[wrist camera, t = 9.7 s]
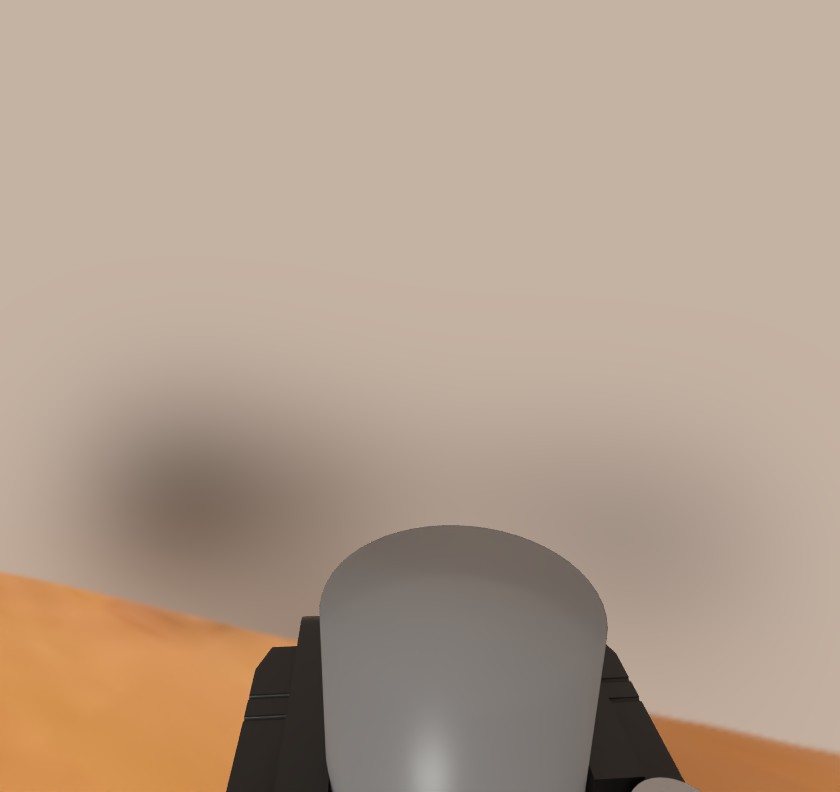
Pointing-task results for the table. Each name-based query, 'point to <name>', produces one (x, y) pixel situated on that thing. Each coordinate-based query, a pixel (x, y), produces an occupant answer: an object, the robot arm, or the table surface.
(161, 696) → the table surface
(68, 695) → the table surface
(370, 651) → the peg on round base
